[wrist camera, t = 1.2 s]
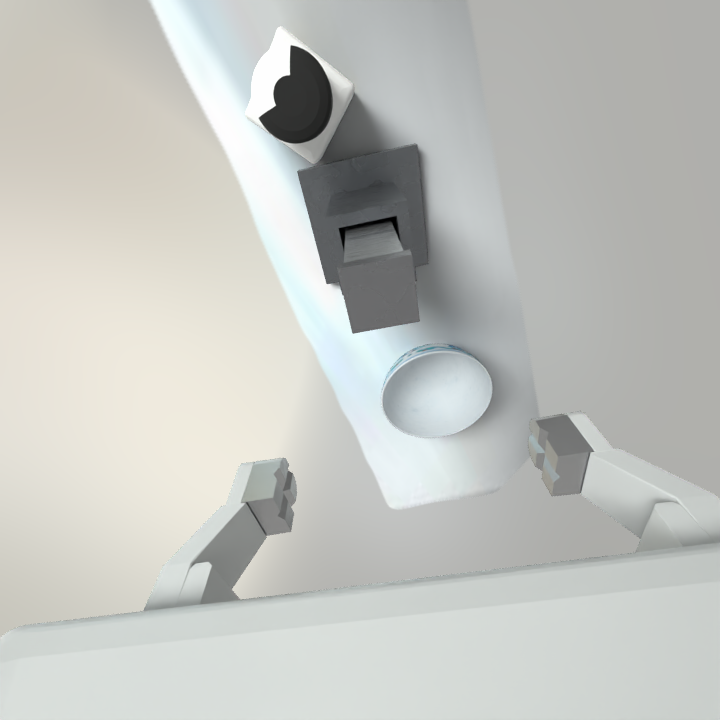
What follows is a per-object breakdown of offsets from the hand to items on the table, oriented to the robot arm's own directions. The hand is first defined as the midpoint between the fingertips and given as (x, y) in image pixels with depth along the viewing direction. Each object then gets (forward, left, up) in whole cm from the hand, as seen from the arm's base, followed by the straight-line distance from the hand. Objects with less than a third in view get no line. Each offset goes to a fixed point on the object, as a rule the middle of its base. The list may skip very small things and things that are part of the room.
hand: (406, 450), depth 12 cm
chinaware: (+23, +5, -37) cm, 44 cm away
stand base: (0, 0, -37) cm, 37 cm away
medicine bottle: (-12, -4, -37) cm, 39 cm away
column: (0, 0, -35) cm, 35 cm away
